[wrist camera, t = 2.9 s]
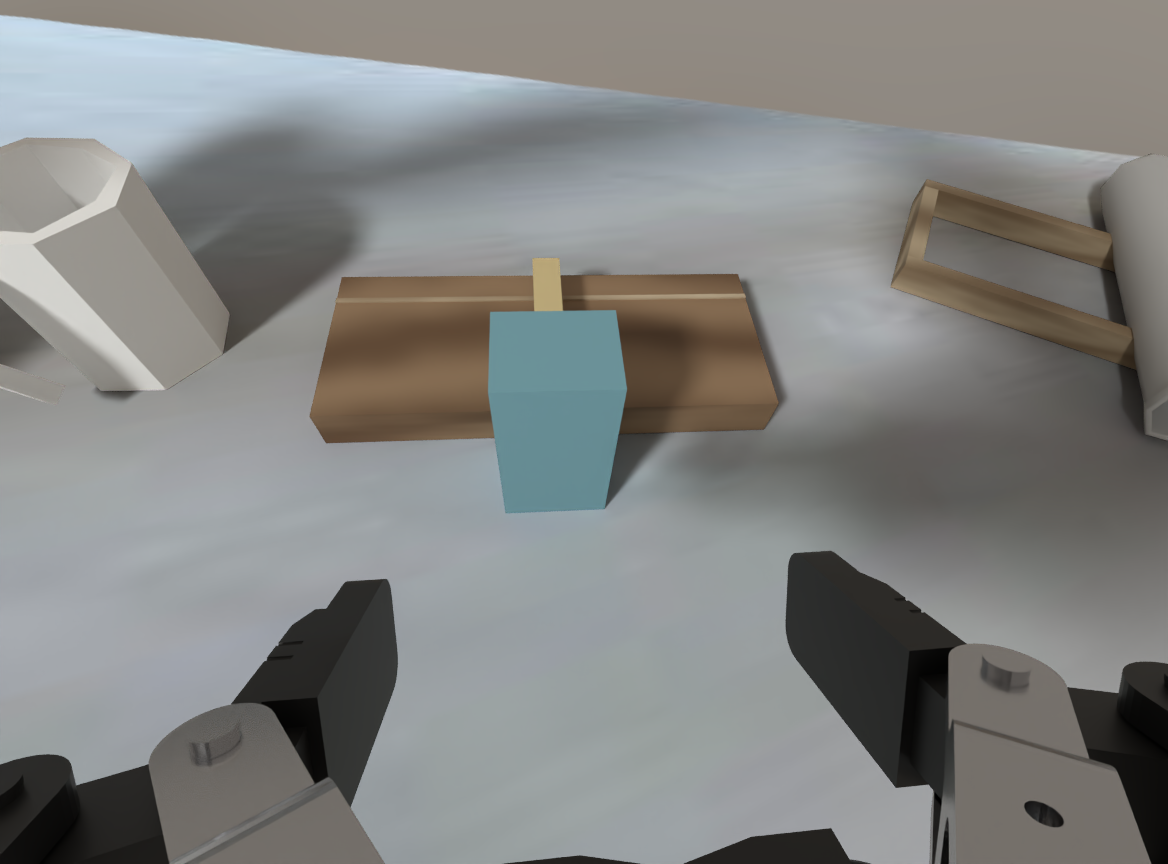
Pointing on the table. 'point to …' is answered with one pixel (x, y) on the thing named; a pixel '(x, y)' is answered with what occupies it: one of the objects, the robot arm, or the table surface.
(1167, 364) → the tube
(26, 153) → the mug
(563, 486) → the teal ice pop
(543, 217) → the table surface
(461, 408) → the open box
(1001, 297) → the tube rack
